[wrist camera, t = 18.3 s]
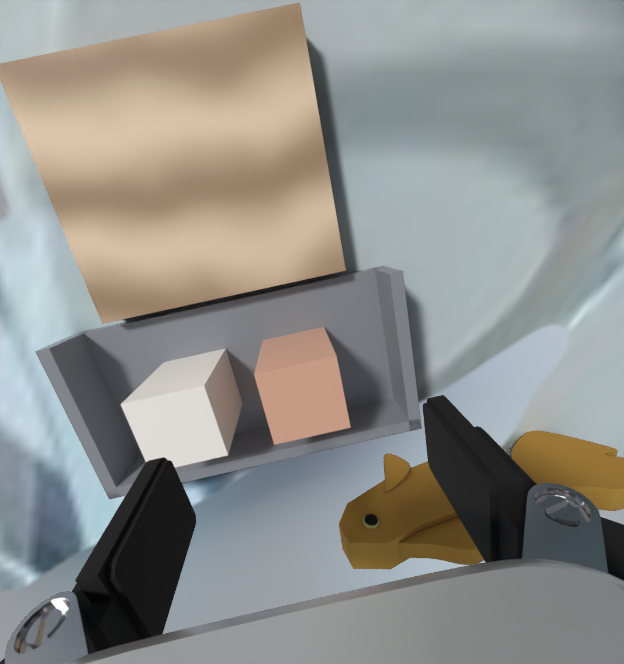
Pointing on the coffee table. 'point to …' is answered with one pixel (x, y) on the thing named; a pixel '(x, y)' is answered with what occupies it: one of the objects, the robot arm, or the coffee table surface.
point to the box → (243, 370)
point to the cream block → (186, 409)
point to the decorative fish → (441, 519)
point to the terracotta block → (301, 386)
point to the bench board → (183, 160)
